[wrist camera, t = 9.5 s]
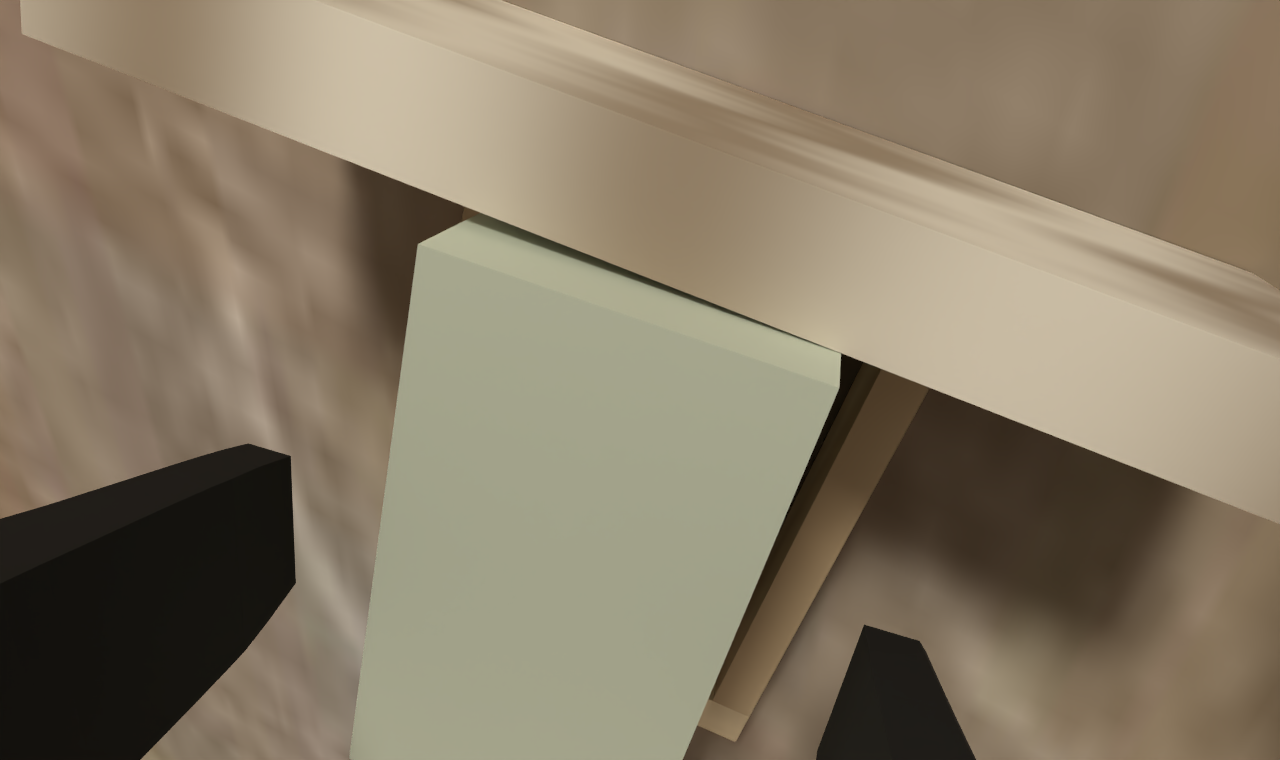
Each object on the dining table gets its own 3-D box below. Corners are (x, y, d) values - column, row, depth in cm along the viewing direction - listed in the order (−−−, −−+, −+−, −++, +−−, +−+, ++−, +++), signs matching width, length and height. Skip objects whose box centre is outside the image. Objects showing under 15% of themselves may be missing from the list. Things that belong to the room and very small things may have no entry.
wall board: (1252, 273, 12) (1543, 457, 7) (912, 750, 18) (934, 1060, 13) (337, -60, 14) (13, -112, 9) (276, 476, 19) (53, 648, 14)
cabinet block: (847, 225, 14) (839, 387, 8) (706, 590, 18) (623, 898, 11) (608, 148, 14) (417, 243, 8) (521, 520, 18) (346, 779, 12)
